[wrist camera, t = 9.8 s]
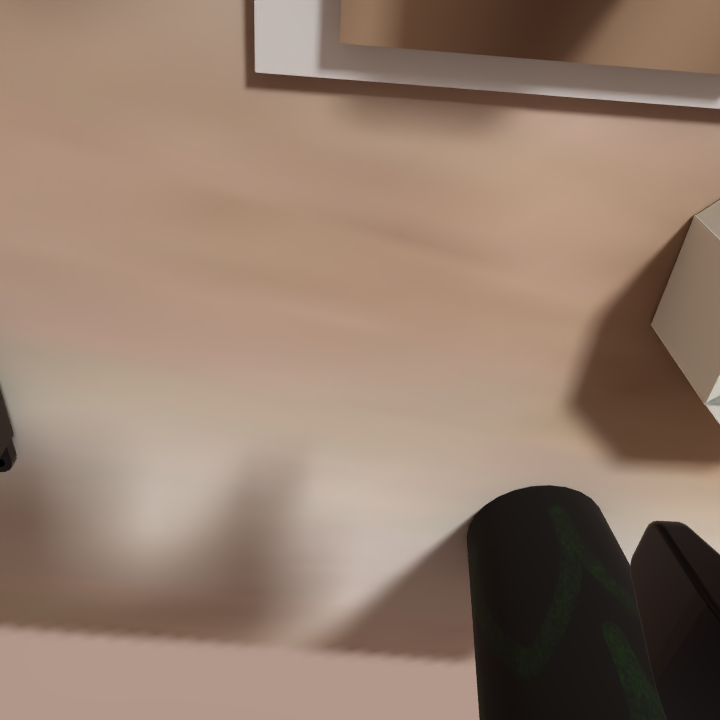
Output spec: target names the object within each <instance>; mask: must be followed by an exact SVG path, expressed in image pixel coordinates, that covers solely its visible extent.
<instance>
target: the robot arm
mask: <svg viewBox="0 0 720 720" xmlns="http://www.w3.org/2000/svg"><path fill="white" fill-rule="evenodd" d="M12 436H13V431H12V428H11V425H10V421H9V418H8V415H7V411H6V408H5V405H4V402H3V398H2V395H1V392H0V458H1V459H0V472H6V471H8V470H10V469H11V467H12V466H13V464H14V462H15V460H16V452H15V449H14V446H13V442H12V439H11V438H12ZM630 572H631V579H632V583H633V588H634V593H635V597H636V602H637V607H638V611H639V616H640V621H641V625H642V630H643V635H644V639H645V644H646V649H647V653H648V658H649V663H650V667H651V671H652V675H653V680H654V684H655V687H656V690H657V694H658V697H659V700H660V703H661V707H662V710H663V713H664V716H665V719H666V720H720V554H719V553H717V552H716V551H715V550H714V549H713V548H712V547H711V546H710V545H708V544H707V543H706V542H705V541H704V540H703V539H702V538H701V537H699V536H698V535H697V534H696V533H695V532H694V531H693V530H691V529H690V528H689V527H688V526H686V525H685V524H683V523H680V522H671V521H653V522H652V523H650V524H649V525H648V527H647V528H646V530H645V532H644V534H643V536H642V538H641V540H640V542H639V544H638V546H637V548H636V550H635V552H634V554H633V556H632V559H631V565H630Z"/></svg>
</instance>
